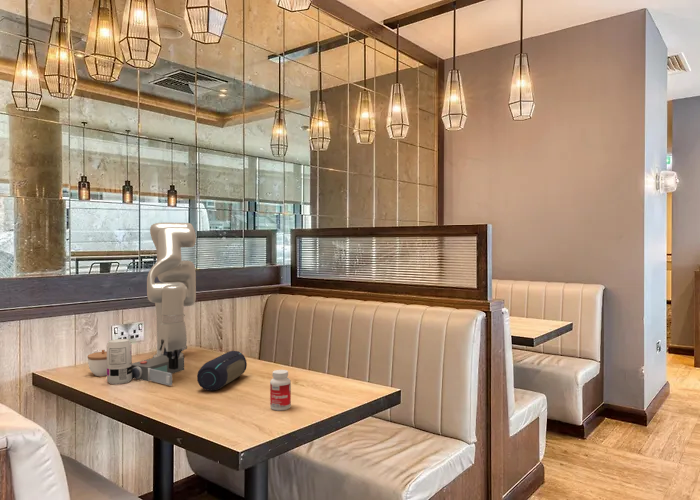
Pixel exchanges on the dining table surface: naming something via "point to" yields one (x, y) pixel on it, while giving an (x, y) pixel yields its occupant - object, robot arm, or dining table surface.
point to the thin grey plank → (161, 377)
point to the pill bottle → (280, 390)
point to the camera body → (154, 367)
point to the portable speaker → (221, 370)
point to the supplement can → (119, 361)
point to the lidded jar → (98, 363)
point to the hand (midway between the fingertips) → (173, 368)
